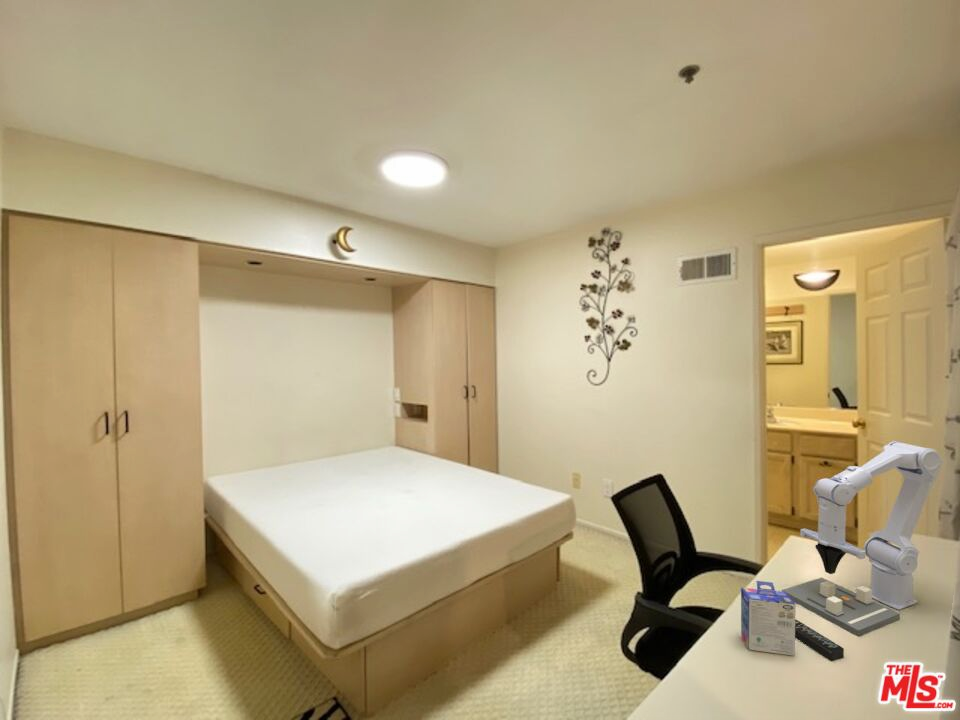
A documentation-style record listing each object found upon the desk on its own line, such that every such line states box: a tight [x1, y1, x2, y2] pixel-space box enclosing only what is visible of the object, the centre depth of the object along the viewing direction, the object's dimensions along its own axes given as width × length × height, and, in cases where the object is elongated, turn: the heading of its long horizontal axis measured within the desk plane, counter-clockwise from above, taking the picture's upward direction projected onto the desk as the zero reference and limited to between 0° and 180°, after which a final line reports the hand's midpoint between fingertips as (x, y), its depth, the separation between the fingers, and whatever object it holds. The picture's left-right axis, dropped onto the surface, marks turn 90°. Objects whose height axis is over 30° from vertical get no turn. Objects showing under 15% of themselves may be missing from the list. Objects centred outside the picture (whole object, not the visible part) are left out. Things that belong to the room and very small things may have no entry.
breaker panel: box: [781, 577, 901, 637], centre depth 113 cm, size 18×18×2 cm
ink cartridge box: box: [740, 580, 797, 657], centre depth 98 cm, size 10×6×14 cm, turn 78°
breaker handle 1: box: [824, 596, 844, 616], centre depth 108 cm, size 3×3×3 cm
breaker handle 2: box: [854, 585, 875, 605], centre depth 113 cm, size 3×3×3 cm
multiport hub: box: [795, 618, 845, 662], centre depth 99 cm, size 4×11×2 cm, turn 18°
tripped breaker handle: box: [818, 580, 837, 598], centre depth 115 cm, size 3×3×3 cm
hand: (830, 572), depth 115 cm, fingers closed
